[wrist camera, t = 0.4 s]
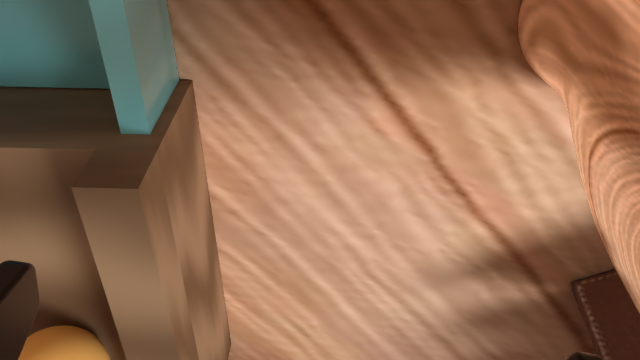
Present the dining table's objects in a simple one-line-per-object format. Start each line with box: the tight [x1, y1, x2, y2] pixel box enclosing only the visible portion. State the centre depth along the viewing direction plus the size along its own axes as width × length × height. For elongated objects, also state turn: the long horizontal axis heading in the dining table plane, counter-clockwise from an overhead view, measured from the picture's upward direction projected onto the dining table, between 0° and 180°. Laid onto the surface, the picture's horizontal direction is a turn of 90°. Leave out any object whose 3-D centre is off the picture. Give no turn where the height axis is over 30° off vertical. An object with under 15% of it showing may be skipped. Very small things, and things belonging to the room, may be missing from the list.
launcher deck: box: [0, 80, 231, 360], centre depth 25 cm, size 16×10×7 cm, turn 0°
